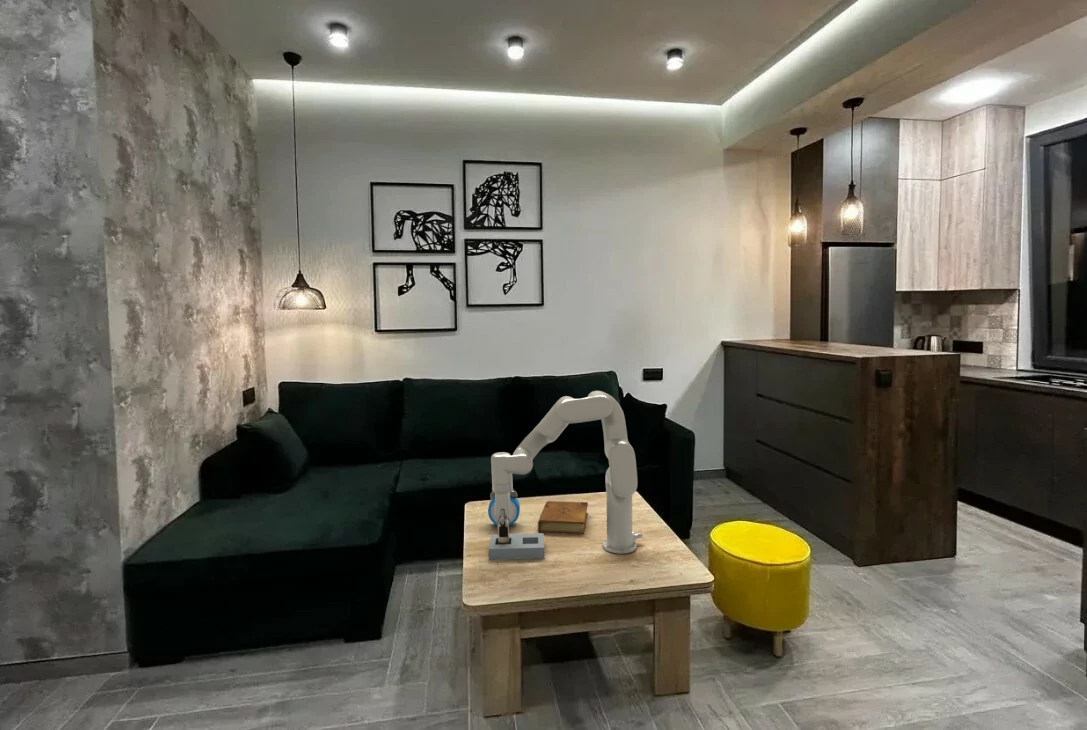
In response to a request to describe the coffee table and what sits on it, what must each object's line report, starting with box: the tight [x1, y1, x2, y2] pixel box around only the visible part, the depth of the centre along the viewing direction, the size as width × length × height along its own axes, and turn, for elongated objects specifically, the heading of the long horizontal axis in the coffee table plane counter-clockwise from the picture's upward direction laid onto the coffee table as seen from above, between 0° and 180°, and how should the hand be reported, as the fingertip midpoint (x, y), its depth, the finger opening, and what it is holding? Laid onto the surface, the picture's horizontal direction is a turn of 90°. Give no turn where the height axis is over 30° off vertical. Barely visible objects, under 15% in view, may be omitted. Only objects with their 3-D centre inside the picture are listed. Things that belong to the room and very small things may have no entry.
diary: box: [537, 500, 589, 535], centre depth 229 cm, size 23×19×6 cm
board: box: [488, 532, 545, 561], centre depth 202 cm, size 20×13×4 cm, turn 91°
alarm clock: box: [487, 489, 521, 527], centre depth 228 cm, size 13×6×15 cm, turn 91°
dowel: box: [497, 519, 510, 545], centre depth 202 cm, size 4×4×12 cm
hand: (504, 531), depth 202 cm, fingers open, 9 cm apart
